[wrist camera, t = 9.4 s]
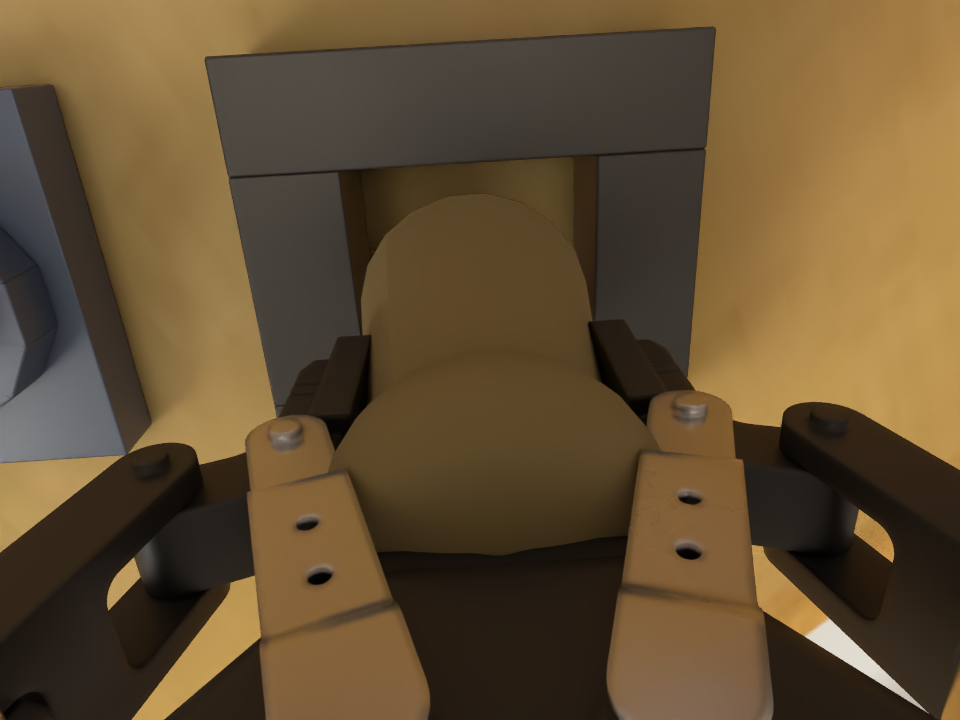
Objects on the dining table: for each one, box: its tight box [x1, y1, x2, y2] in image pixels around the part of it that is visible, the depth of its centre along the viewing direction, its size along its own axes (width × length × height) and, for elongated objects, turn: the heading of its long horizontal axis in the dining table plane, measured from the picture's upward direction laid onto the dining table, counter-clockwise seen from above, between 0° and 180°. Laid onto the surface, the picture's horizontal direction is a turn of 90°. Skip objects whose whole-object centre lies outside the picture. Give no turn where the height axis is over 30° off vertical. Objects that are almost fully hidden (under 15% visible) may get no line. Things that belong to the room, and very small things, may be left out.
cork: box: [328, 193, 662, 556], centre depth 13 cm, size 6×6×11 cm
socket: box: [205, 27, 716, 418], centre depth 22 cm, size 13×13×4 cm
